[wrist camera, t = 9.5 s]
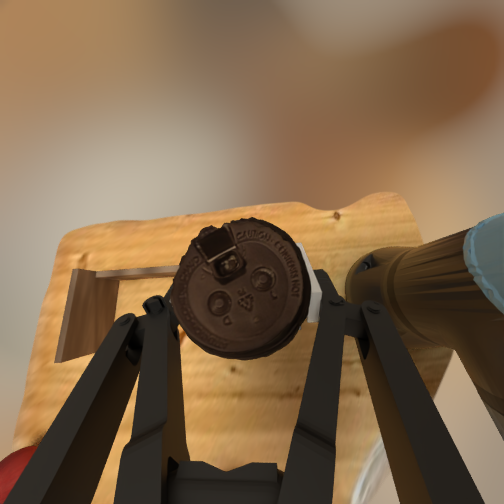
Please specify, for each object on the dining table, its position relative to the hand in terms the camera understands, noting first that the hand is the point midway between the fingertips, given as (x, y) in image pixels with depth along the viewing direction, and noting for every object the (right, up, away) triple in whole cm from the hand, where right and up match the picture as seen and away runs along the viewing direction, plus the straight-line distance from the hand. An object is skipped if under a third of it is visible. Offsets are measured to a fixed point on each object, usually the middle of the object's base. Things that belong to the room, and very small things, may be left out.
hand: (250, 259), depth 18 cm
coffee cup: (+1, -4, +4) cm, 6 cm away
